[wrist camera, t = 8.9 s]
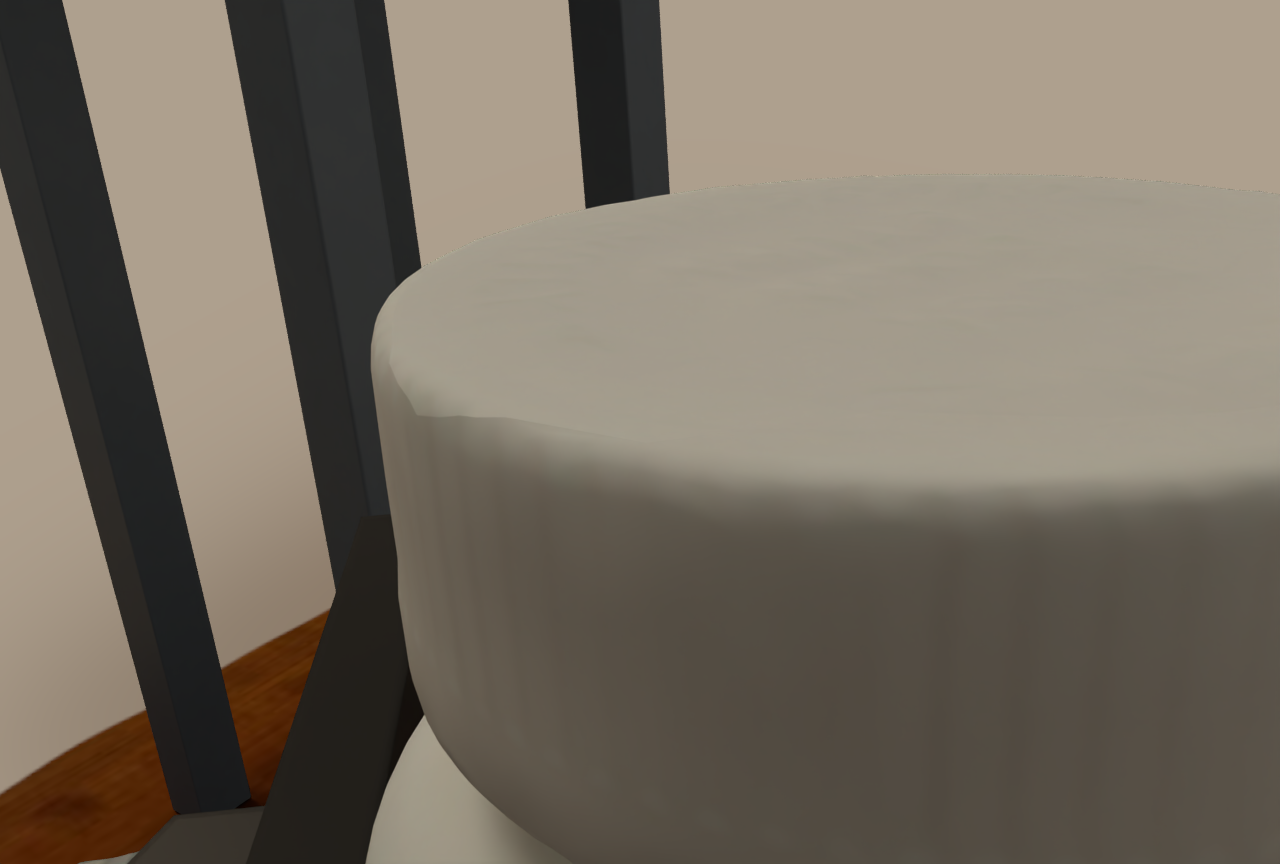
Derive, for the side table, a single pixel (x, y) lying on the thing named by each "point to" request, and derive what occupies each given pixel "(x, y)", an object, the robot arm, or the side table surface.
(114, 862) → the spool
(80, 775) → the side table surface
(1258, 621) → the pill bottle
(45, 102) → the grey four-legged stand
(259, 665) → the side table surface
